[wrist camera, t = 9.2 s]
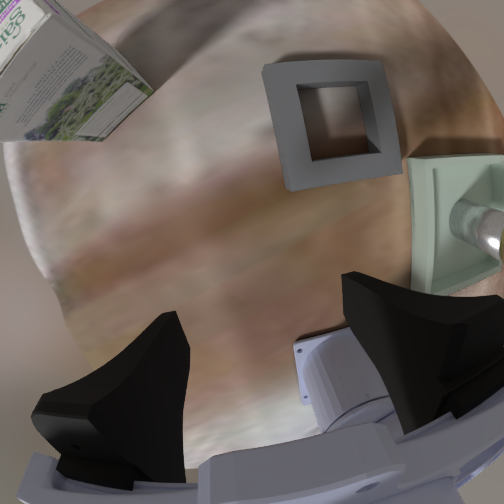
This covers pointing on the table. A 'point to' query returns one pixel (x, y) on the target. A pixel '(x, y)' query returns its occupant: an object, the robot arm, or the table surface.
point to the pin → (478, 227)
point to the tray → (437, 218)
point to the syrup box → (60, 76)
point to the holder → (294, 132)
